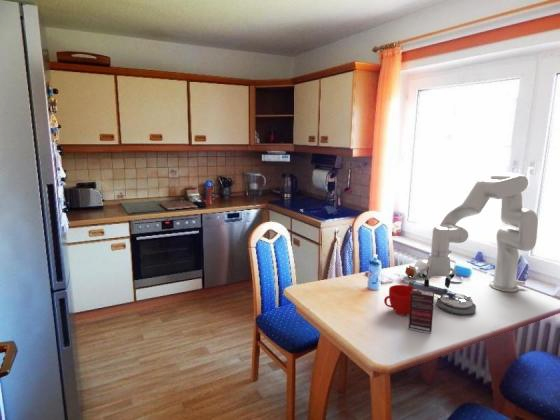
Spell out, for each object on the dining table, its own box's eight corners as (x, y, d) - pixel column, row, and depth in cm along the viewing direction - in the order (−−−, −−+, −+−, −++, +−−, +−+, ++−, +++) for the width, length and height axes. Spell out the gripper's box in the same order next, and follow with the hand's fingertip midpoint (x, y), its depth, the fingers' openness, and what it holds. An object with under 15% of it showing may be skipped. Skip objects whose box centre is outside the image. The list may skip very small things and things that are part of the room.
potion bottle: (431, 277, 207) (411, 284, 202) (421, 263, 213) (400, 270, 208) (439, 267, 201) (418, 275, 195) (428, 253, 207) (407, 260, 201)
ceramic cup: (374, 310, 165) (375, 288, 163) (404, 303, 171) (405, 283, 169) (393, 323, 153) (395, 300, 151) (425, 315, 160) (427, 293, 158)
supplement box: (431, 328, 149) (435, 291, 146) (431, 334, 144) (434, 296, 141) (409, 324, 152) (411, 287, 149) (407, 329, 148) (410, 292, 145)
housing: (465, 299, 175) (465, 295, 175) (482, 315, 159) (483, 311, 159) (431, 299, 175) (431, 295, 175) (445, 315, 160) (445, 310, 159)
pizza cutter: (415, 285, 186) (415, 276, 185) (475, 302, 168) (477, 292, 167) (404, 293, 176) (404, 283, 176) (467, 312, 158) (468, 301, 157)
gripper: (454, 250, 179) (451, 283, 182) (418, 250, 179) (416, 283, 182) (461, 255, 171) (458, 290, 175) (424, 255, 172) (421, 289, 175)
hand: (436, 286), depth 178 cm, fingers open, 9 cm apart
